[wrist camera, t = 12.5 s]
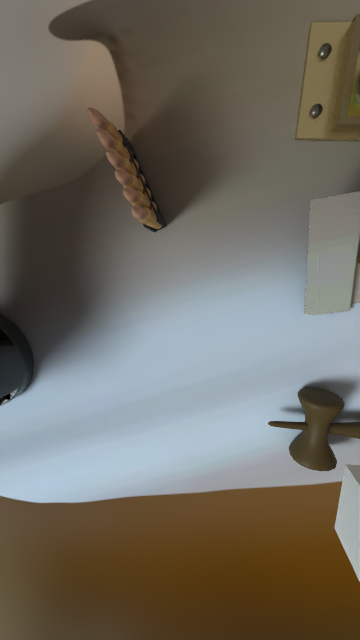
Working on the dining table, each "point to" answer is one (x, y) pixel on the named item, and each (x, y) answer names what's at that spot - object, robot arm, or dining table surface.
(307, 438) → the kendama
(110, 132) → the ammunition clip
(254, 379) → the dining table surface
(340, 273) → the grey tablet stand
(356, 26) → the wooden holder tray
